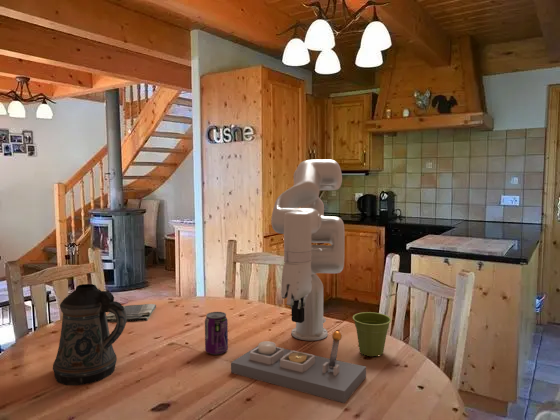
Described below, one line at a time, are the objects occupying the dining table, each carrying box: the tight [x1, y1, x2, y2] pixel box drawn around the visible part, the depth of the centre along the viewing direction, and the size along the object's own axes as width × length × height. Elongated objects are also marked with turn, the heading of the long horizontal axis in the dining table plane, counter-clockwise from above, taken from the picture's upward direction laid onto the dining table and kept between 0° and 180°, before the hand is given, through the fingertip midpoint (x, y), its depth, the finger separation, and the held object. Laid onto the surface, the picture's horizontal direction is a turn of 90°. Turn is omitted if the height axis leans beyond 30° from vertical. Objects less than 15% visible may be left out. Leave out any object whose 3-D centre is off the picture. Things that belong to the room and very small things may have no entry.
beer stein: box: [52, 283, 127, 386], centre depth 123 cm, size 16×19×25 cm
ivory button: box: [257, 340, 277, 355], centre depth 126 cm, size 5×5×2 cm
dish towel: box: [106, 303, 157, 323], centre depth 177 cm, size 19×18×3 cm
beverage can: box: [204, 311, 229, 356], centre depth 138 cm, size 7×7×12 cm
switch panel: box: [230, 345, 367, 404], centre depth 122 cm, size 16×34×5 cm, turn 60°
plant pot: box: [352, 311, 392, 357], centre depth 137 cm, size 12×12×11 cm
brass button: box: [289, 351, 307, 364], centre depth 122 cm, size 5×5×2 cm
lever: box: [329, 330, 342, 370], centre depth 118 cm, size 3×3×10 cm
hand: (297, 321), depth 121 cm, fingers closed
